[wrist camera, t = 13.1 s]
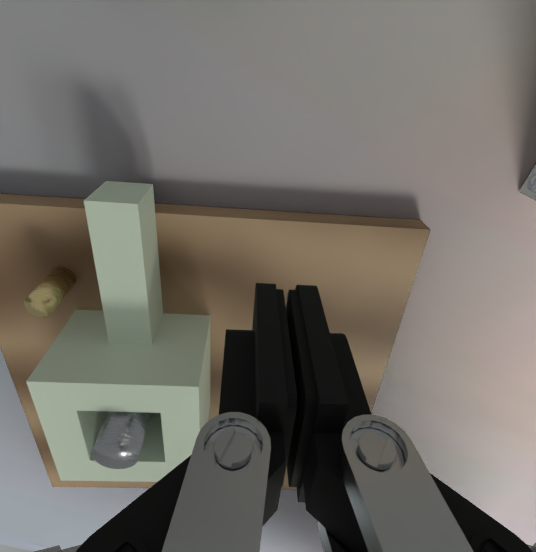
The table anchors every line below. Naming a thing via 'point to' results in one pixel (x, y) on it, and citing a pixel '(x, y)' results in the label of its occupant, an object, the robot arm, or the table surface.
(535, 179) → the light bulb box
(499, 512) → the table surface
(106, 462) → the post
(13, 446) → the table surface
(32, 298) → the dowel
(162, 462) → the hollow frame with stem
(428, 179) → the table surface
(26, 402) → the board
